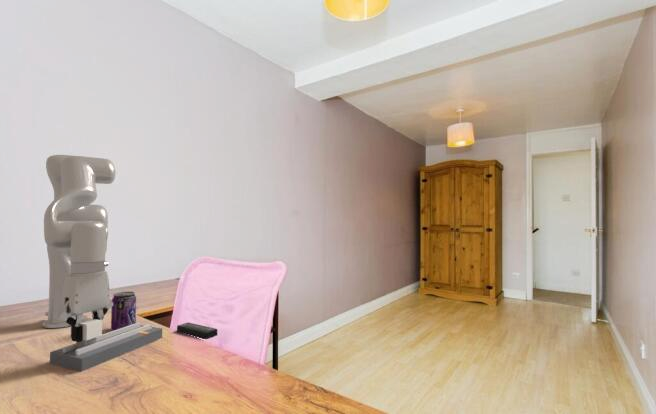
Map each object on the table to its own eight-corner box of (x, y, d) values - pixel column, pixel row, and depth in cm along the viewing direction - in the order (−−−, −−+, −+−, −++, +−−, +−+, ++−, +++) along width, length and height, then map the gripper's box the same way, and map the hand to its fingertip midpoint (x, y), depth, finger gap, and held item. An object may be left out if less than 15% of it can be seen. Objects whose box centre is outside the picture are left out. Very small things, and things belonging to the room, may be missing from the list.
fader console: (49, 364, 85) (50, 347, 85) (133, 333, 108) (133, 320, 108) (81, 371, 81) (82, 353, 81) (162, 338, 104) (162, 324, 104)
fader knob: (70, 348, 87) (71, 322, 87) (86, 343, 91) (86, 317, 91) (86, 352, 85) (86, 324, 85) (101, 346, 89) (102, 320, 89)
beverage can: (124, 333, 108) (124, 296, 108) (105, 332, 109) (106, 295, 110) (140, 326, 115) (141, 291, 115) (123, 325, 116) (123, 290, 117)
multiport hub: (206, 340, 103) (206, 332, 103) (176, 332, 110) (176, 325, 110) (218, 336, 106) (218, 328, 107) (187, 329, 114) (188, 322, 114)
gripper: (108, 263, 98) (107, 326, 97) (42, 272, 82) (40, 347, 82) (127, 264, 95) (125, 329, 95) (63, 273, 80) (61, 351, 79)
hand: (86, 337), depth 88 cm, fingers closed on fader knob, 4 cm apart
